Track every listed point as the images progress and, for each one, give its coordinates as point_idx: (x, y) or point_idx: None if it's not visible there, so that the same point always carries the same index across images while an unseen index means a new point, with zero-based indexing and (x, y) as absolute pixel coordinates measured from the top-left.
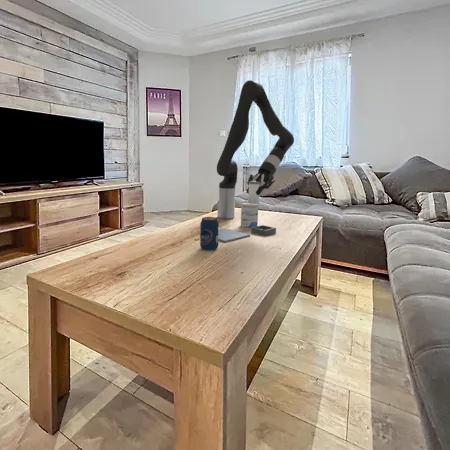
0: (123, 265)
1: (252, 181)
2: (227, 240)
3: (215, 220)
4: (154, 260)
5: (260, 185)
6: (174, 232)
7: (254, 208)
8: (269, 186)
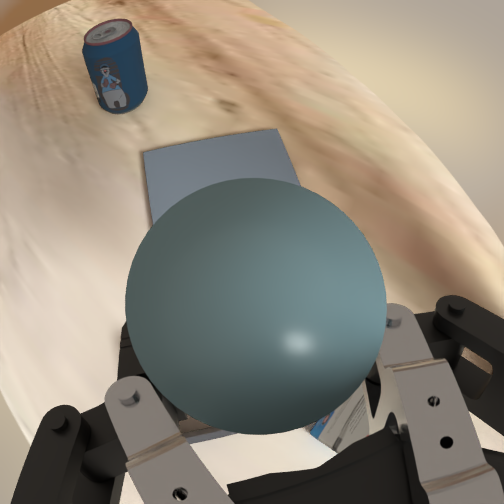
0: (148, 2)
1: (284, 254)
2: (144, 161)
3: (84, 41)
4: (137, 23)
5: (149, 384)
6: (342, 100)
7: (361, 437)
8: (76, 493)
